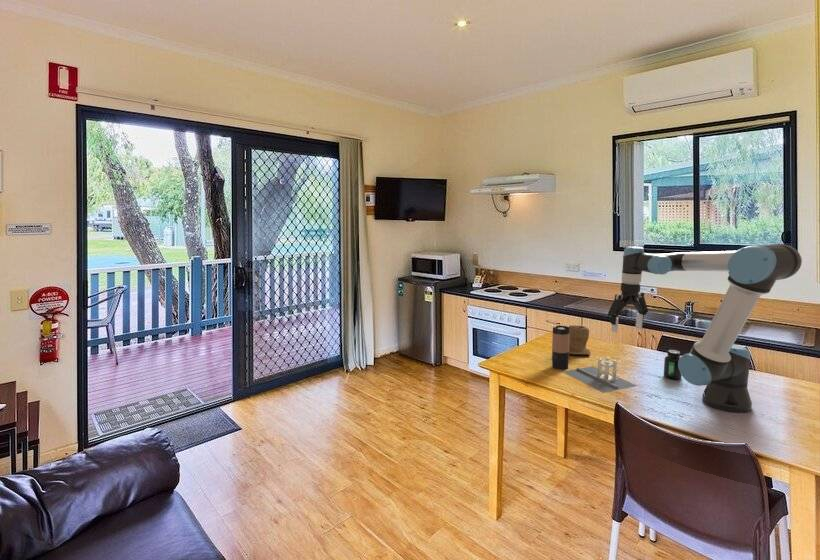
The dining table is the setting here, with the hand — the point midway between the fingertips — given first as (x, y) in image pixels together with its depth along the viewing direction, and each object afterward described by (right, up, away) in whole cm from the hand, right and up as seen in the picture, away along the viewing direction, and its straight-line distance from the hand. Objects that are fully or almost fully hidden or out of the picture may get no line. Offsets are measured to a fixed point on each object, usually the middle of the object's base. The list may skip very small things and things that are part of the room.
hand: (626, 329), depth 188 cm
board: (-12, -22, +2) cm, 25 cm away
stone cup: (-8, -17, +38) cm, 42 cm away
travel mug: (-23, -20, +17) cm, 35 cm away
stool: (-8, -22, +1) cm, 23 cm away
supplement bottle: (+21, -21, +2) cm, 30 cm away
